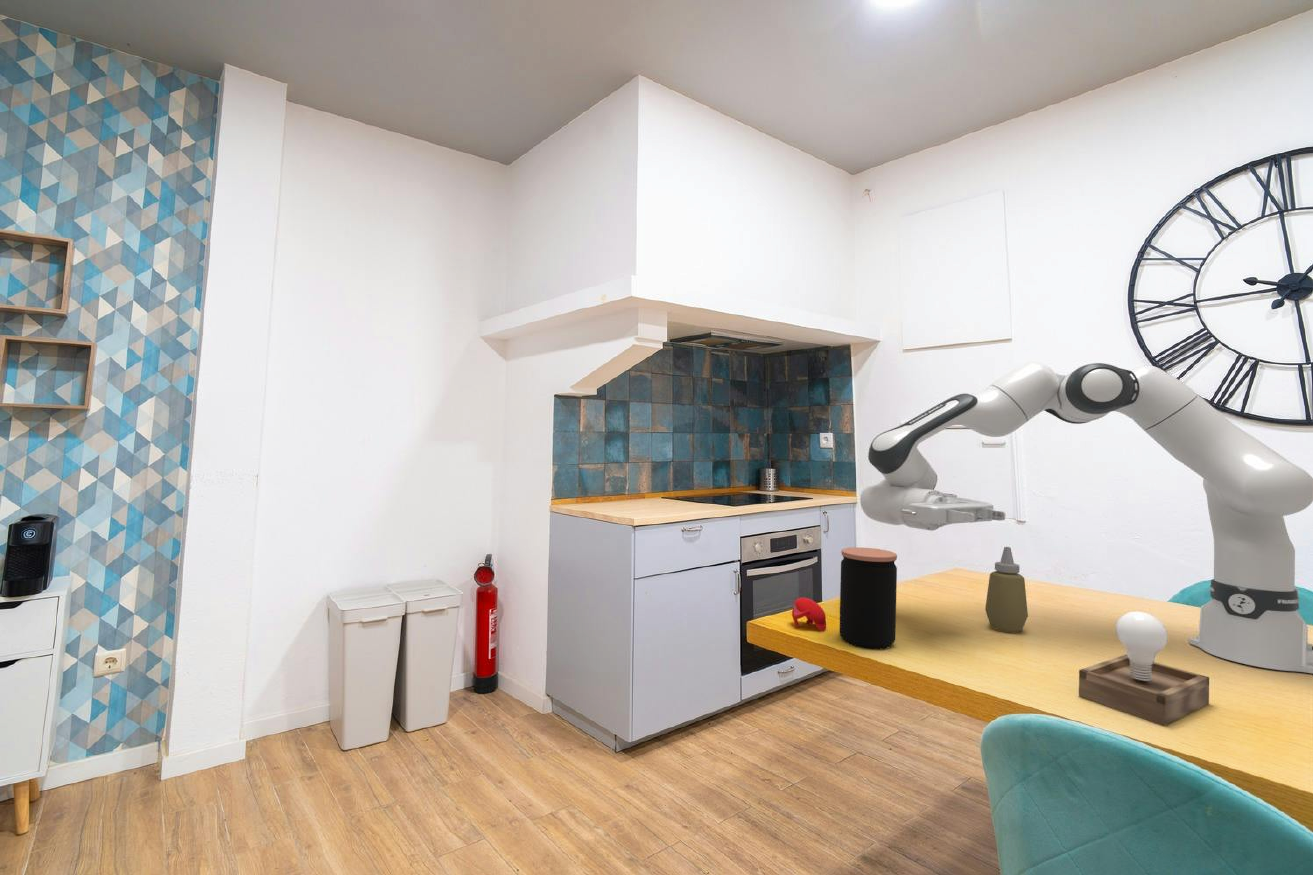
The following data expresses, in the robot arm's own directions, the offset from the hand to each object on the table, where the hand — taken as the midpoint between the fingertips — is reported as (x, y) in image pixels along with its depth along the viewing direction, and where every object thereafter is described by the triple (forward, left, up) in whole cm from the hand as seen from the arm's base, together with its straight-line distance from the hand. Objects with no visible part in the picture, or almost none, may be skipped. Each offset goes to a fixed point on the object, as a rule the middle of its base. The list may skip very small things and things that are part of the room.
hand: (989, 517), depth 115 cm
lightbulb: (+1, +25, -23) cm, 34 cm away
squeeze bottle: (-17, -6, -26) cm, 32 cm away
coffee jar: (+18, -14, -26) cm, 35 cm away
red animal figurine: (+22, -26, -26) cm, 43 cm away
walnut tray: (0, +25, -26) cm, 36 cm away
